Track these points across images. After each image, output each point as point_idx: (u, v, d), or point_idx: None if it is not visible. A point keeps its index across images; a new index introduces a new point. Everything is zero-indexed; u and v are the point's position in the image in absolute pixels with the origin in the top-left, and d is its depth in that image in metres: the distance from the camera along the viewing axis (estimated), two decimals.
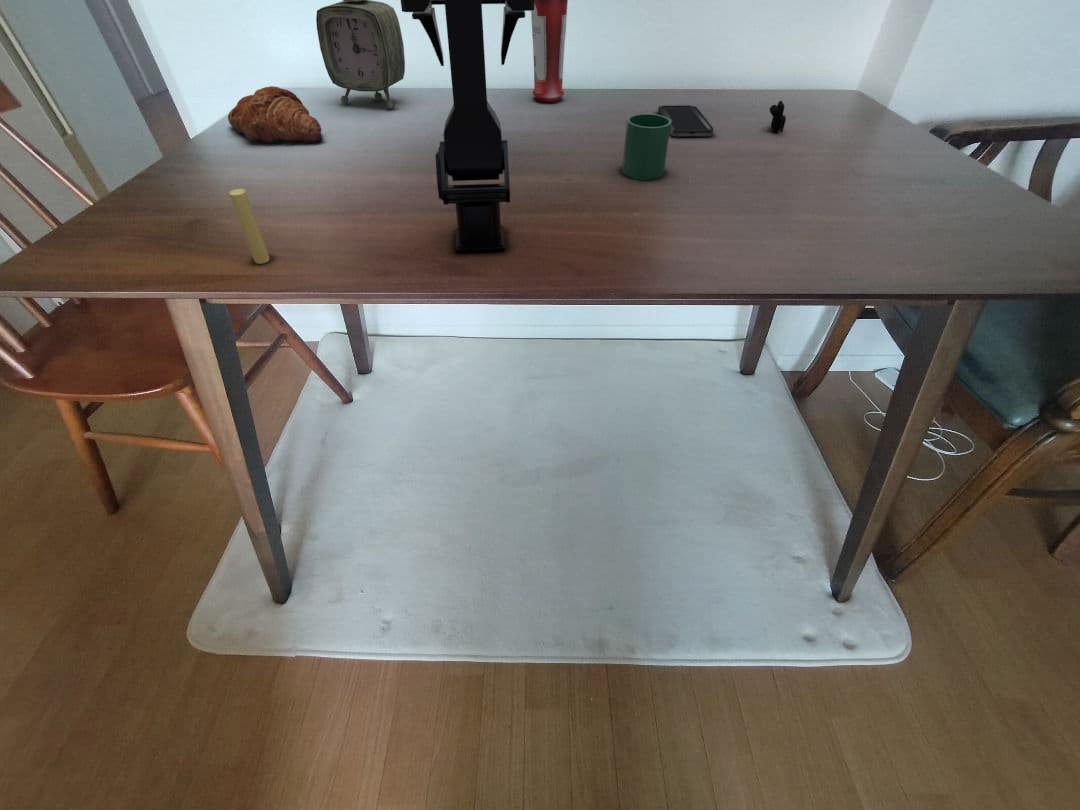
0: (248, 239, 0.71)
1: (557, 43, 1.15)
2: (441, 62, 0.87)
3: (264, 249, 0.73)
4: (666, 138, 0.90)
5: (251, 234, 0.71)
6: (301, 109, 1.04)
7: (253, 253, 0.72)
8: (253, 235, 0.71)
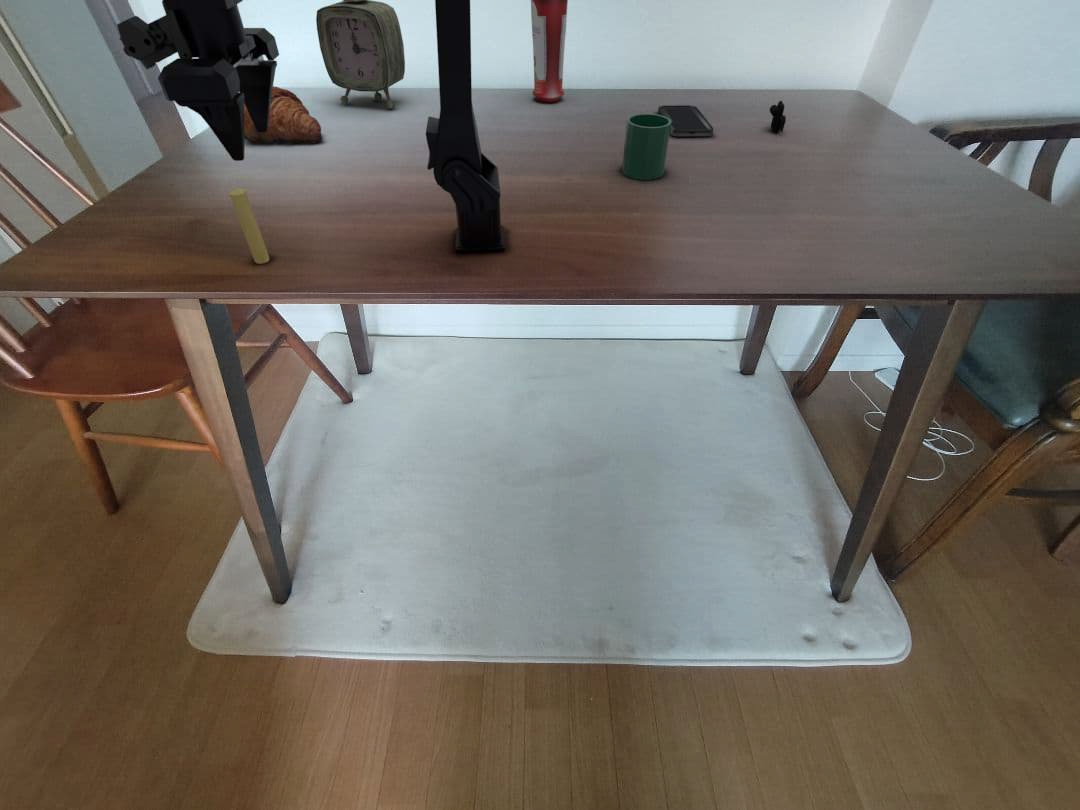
0: (248, 239, 0.71)
1: (557, 43, 1.15)
2: (243, 155, 0.63)
3: (264, 249, 0.73)
4: (666, 138, 0.90)
5: (251, 234, 0.71)
6: (301, 109, 1.04)
7: (253, 253, 0.72)
8: (253, 235, 0.71)
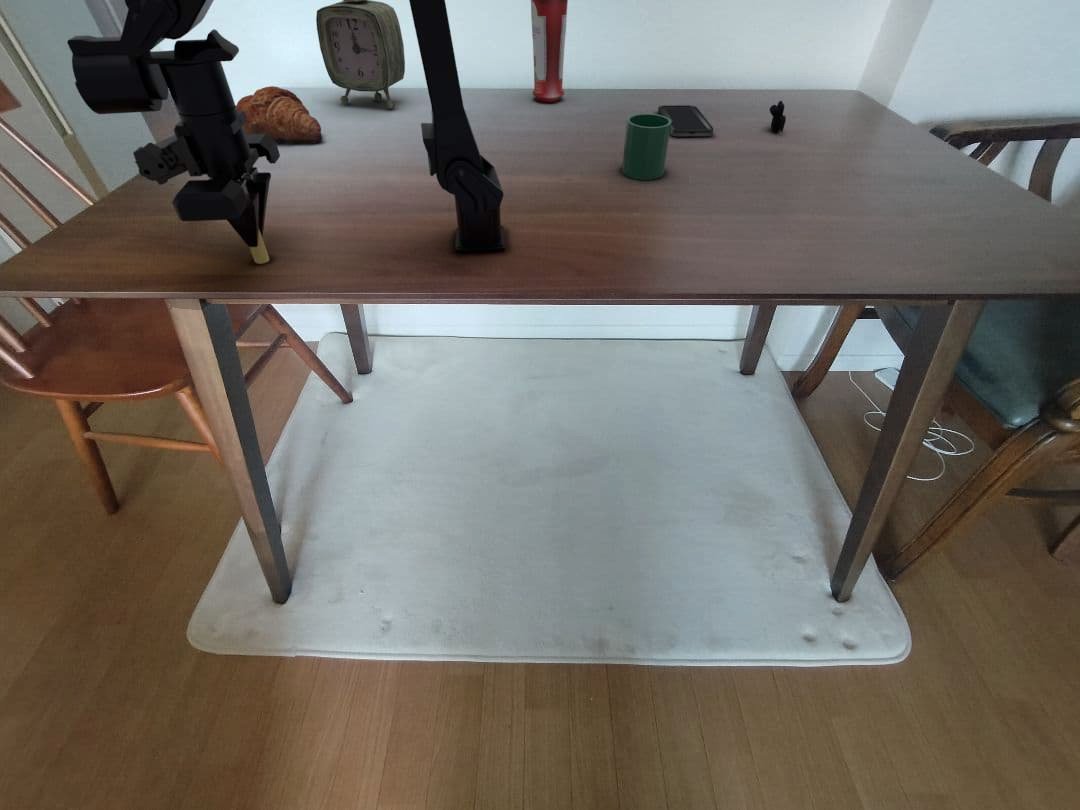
0: None
1: (557, 43, 1.15)
2: (257, 242, 0.71)
3: (264, 249, 0.73)
4: (666, 138, 0.90)
5: None
6: (301, 109, 1.04)
7: (253, 253, 0.72)
8: None
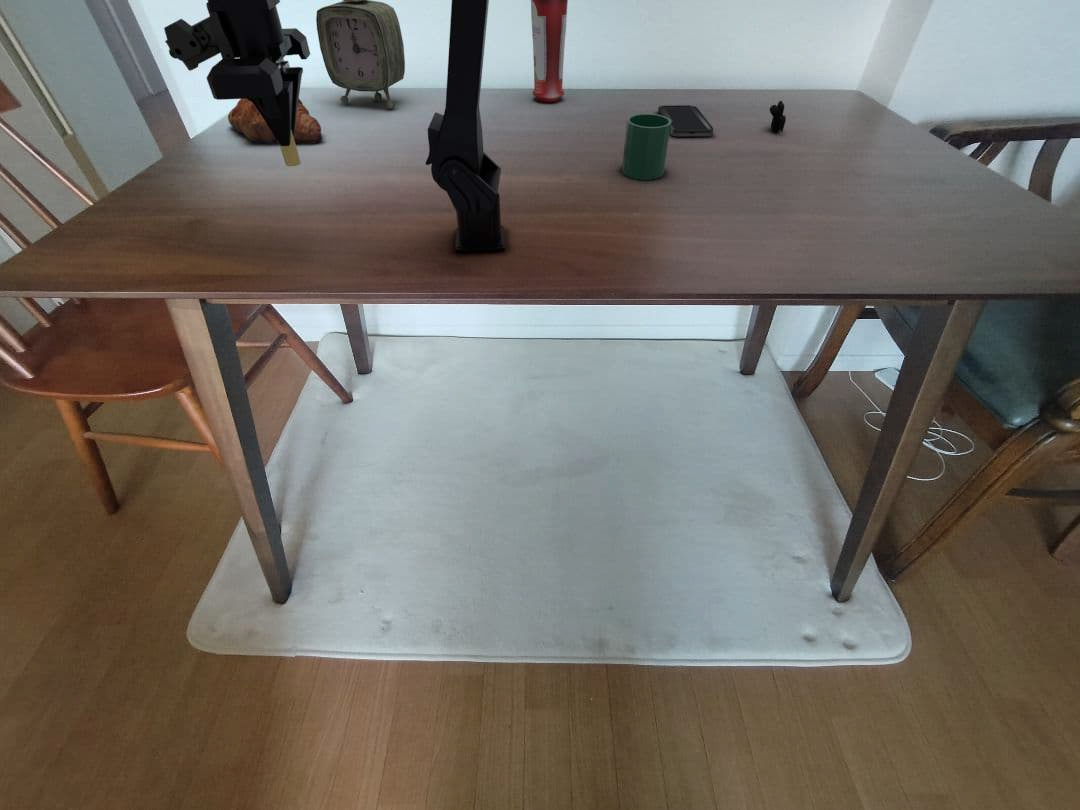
0: None
1: (557, 43, 1.15)
2: None
3: (295, 150, 0.70)
4: (666, 138, 0.90)
5: None
6: (301, 109, 1.04)
7: (284, 154, 0.69)
8: None
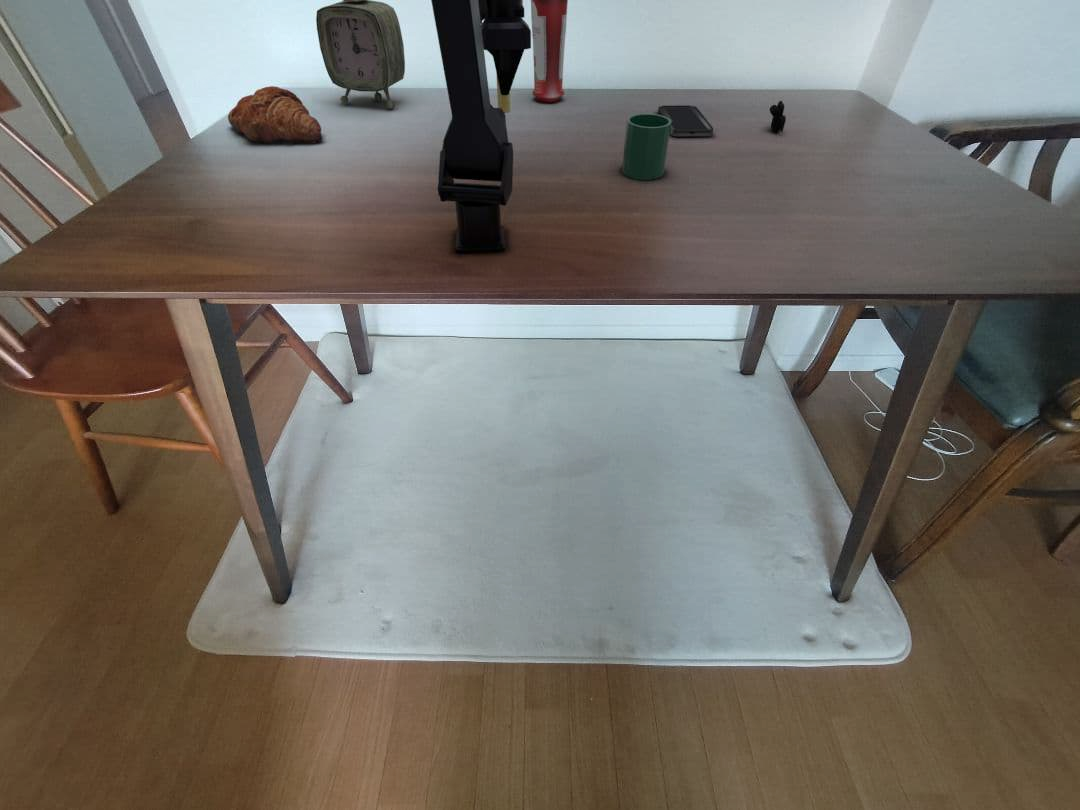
0: None
1: (557, 43, 1.15)
2: (509, 90, 0.82)
3: (509, 99, 0.84)
4: (666, 138, 0.90)
5: None
6: (301, 109, 1.04)
7: (501, 102, 0.83)
8: None
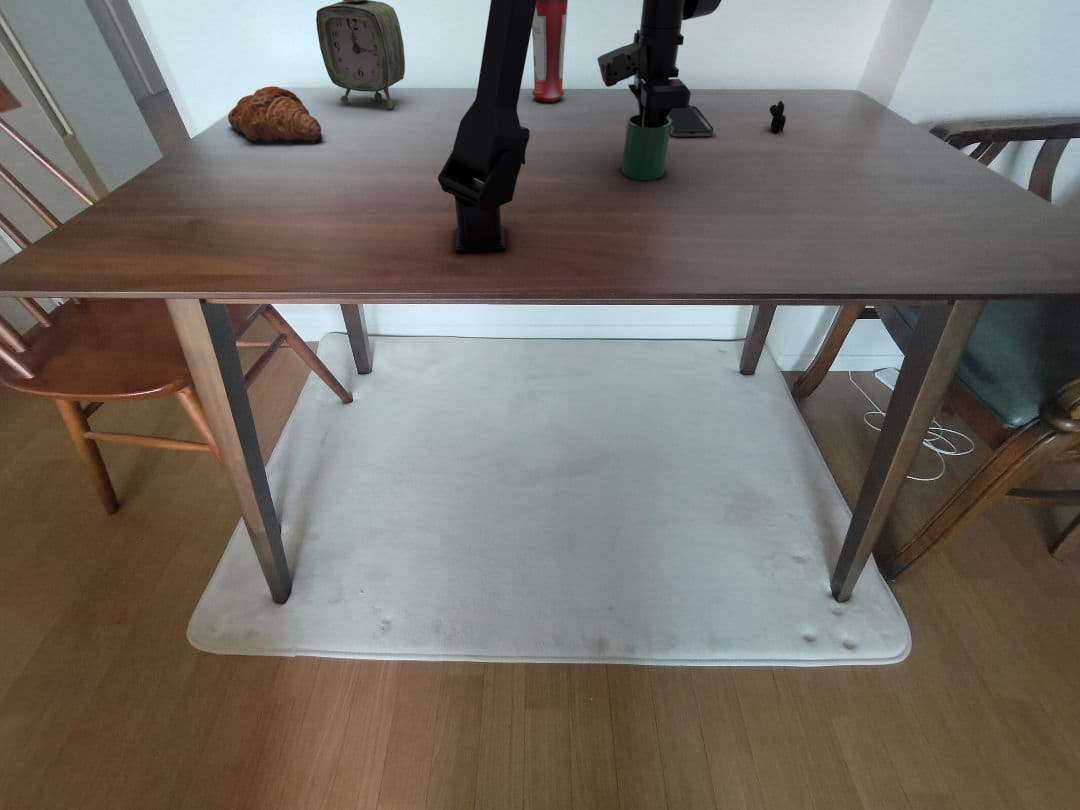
0: None
1: (557, 43, 1.15)
2: None
3: None
4: (666, 138, 0.90)
5: None
6: (301, 109, 1.04)
7: None
8: None
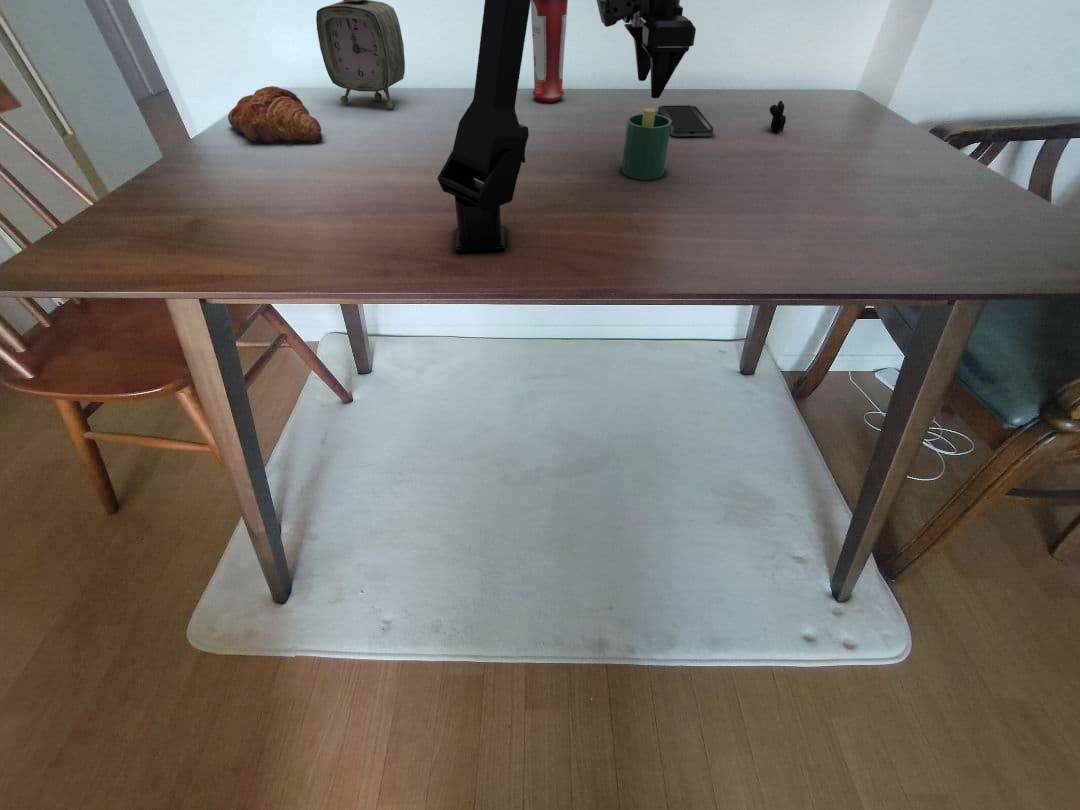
0: None
1: (557, 43, 1.15)
2: (660, 93, 0.83)
3: None
4: (666, 138, 0.90)
5: None
6: (301, 109, 1.04)
7: None
8: None
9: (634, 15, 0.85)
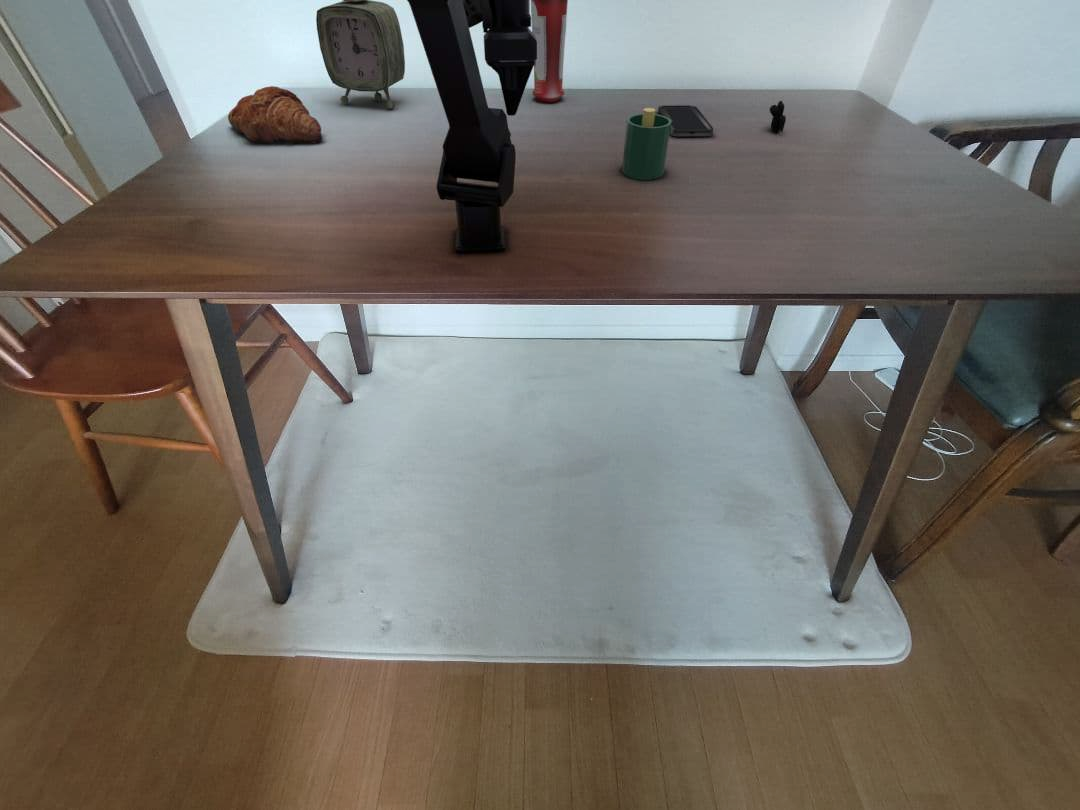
0: None
1: (557, 43, 1.15)
2: (516, 110, 0.76)
3: None
4: (666, 138, 0.90)
5: None
6: (301, 109, 1.04)
7: None
8: None
9: None
